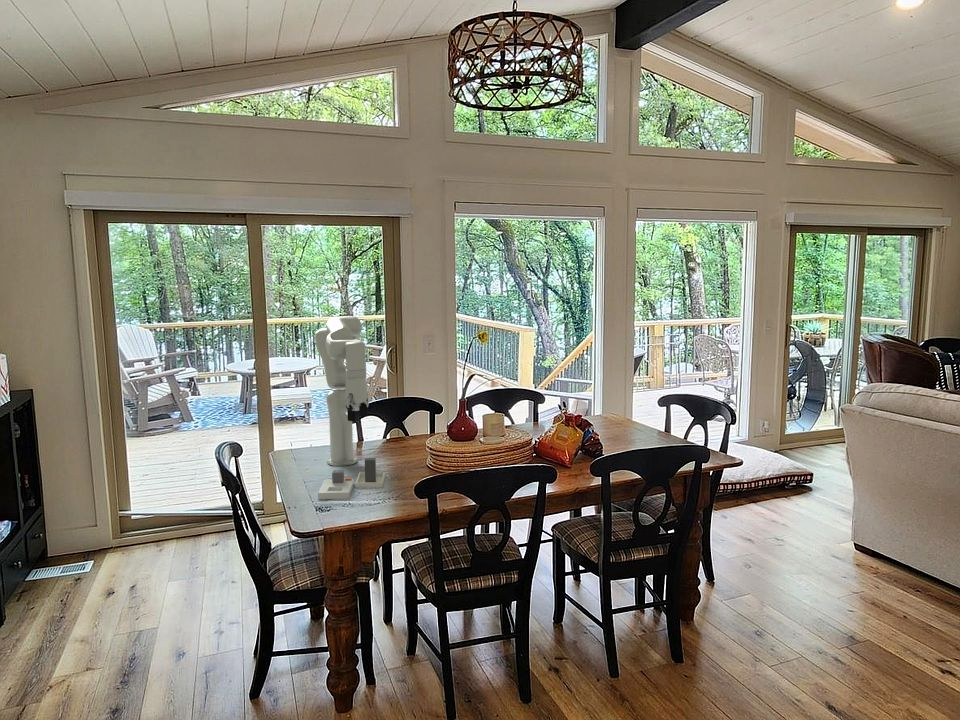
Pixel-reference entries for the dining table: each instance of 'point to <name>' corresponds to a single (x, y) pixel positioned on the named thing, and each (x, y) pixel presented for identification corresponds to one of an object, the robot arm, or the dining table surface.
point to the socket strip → (336, 486)
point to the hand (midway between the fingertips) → (357, 418)
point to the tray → (361, 482)
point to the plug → (370, 470)
